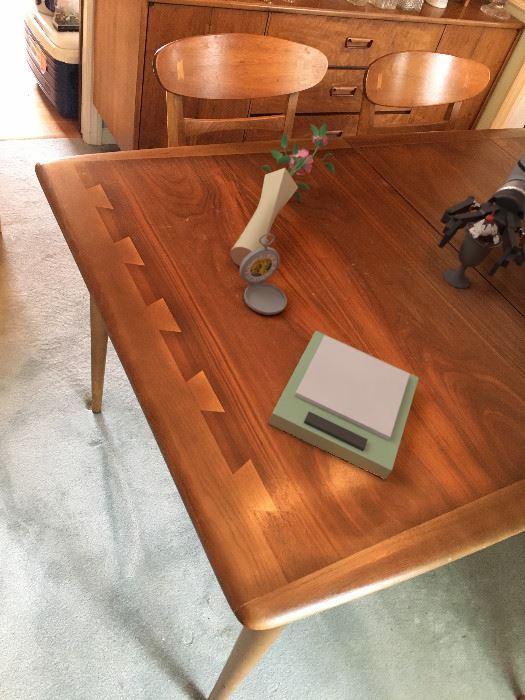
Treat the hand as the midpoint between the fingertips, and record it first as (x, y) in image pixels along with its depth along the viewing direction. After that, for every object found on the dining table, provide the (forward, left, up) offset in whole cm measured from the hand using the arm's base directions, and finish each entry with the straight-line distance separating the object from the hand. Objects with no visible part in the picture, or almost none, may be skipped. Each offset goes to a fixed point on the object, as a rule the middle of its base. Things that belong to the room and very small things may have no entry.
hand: (468, 255), depth 92 cm
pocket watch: (+27, +22, -8) cm, 35 cm away
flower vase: (+33, +1, -8) cm, 35 cm away
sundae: (-1, -4, -8) cm, 9 cm away
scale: (+9, +35, -8) cm, 37 cm away
